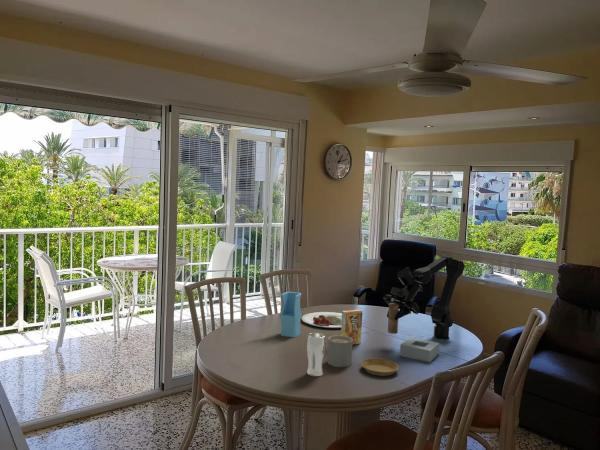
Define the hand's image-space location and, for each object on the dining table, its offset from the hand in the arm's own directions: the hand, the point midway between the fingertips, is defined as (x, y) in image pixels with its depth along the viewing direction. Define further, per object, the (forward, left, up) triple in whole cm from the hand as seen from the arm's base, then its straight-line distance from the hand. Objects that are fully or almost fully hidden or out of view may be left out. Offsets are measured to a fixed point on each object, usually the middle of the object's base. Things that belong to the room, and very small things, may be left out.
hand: (391, 318), depth 219 cm
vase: (+47, -10, -14) cm, 50 cm away
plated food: (+29, -37, -14) cm, 49 cm away
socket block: (-12, +8, -13) cm, 20 cm away
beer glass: (+32, +38, -14) cm, 51 cm away
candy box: (+18, -2, -14) cm, 22 cm away
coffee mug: (+22, +23, -14) cm, 34 cm away
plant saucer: (+7, +30, -14) cm, 34 cm away
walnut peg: (-1, -1, -7) cm, 7 cm away
